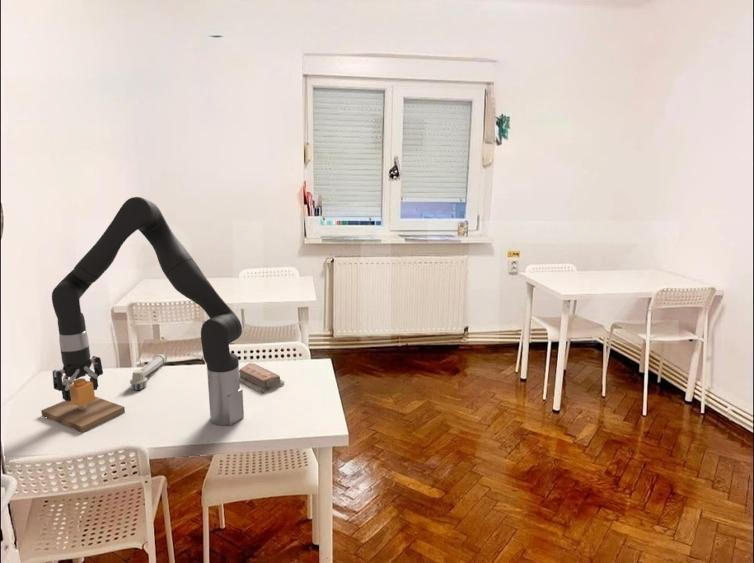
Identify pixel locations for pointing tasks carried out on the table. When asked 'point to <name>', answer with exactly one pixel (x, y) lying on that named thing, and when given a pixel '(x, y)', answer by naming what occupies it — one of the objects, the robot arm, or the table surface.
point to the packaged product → (259, 378)
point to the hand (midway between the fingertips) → (81, 395)
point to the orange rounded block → (81, 392)
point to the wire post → (83, 407)
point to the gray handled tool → (146, 372)
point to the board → (83, 414)
